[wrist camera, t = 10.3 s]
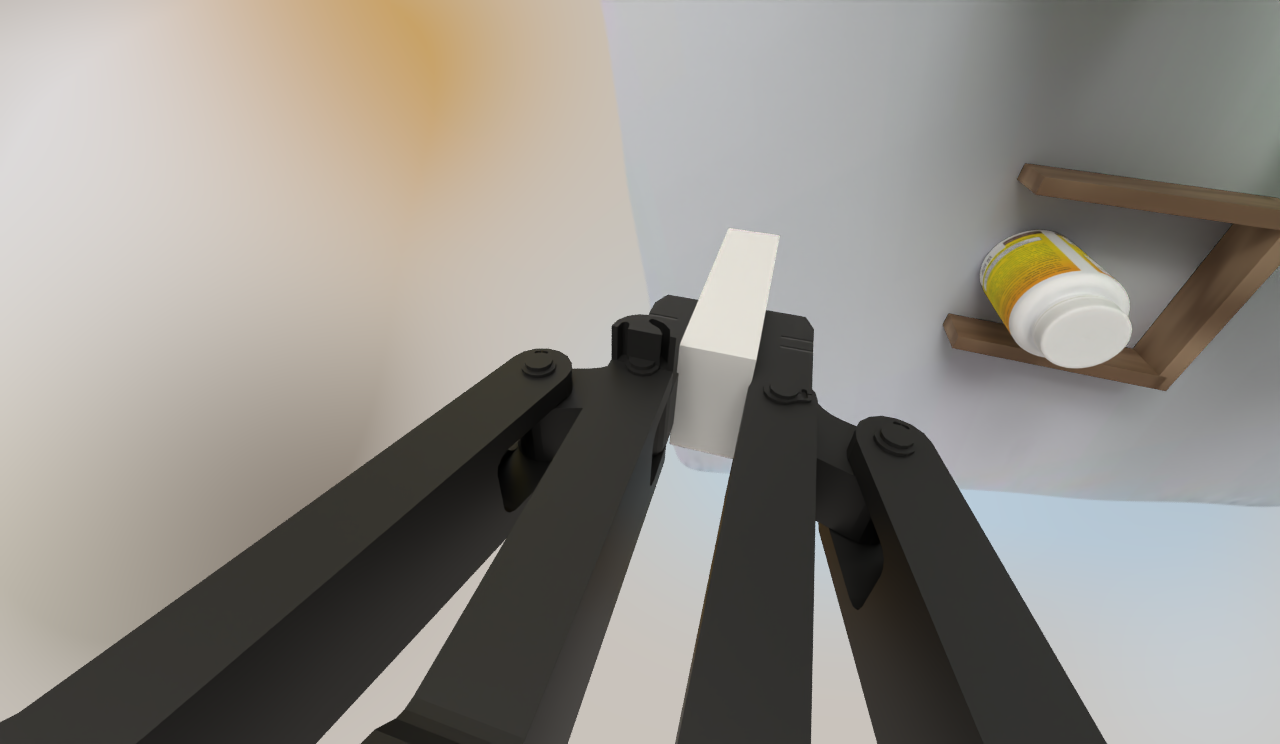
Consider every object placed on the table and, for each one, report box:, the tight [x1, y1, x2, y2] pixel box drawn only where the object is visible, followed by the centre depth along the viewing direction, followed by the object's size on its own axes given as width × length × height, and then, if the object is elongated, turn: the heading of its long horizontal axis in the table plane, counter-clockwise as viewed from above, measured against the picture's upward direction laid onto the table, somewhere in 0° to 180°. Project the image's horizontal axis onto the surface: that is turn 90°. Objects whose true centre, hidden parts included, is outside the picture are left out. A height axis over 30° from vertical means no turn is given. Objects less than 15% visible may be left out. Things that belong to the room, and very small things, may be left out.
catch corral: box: [943, 163, 1280, 391], centre depth 33 cm, size 12×14×4 cm
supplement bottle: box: [980, 230, 1132, 368], centre depth 31 cm, size 6×6×10 cm
